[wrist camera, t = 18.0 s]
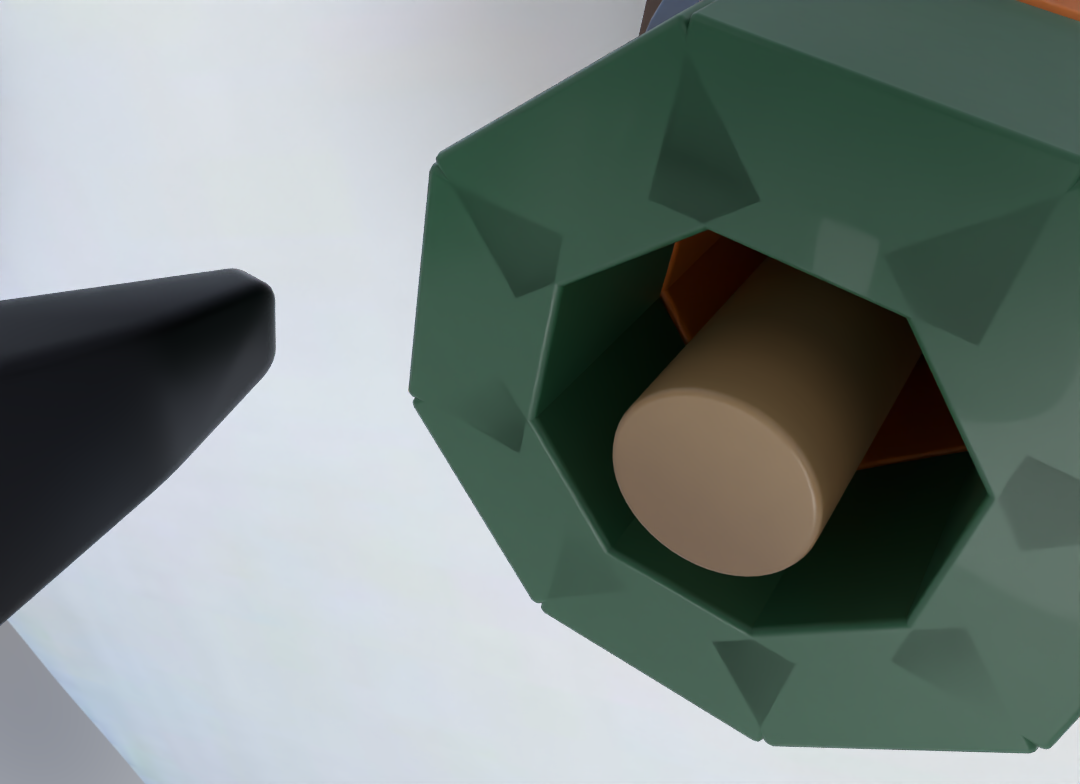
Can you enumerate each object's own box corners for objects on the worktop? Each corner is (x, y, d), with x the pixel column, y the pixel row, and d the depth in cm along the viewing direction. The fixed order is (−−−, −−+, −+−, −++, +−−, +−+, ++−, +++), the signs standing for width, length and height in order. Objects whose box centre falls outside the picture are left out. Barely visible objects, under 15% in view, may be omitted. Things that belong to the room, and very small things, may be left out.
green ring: (625, -131, 10) (449, -79, 8) (1427, 135, 8) (1466, 303, 6) (521, 402, 15) (392, 523, 13) (1008, 665, 13) (947, 863, 11)
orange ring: (743, -171, 12) (626, -137, 10) (1407, 31, 10) (1433, 129, 8) (619, 309, 17) (523, 400, 15) (1054, 521, 15) (1012, 664, 13)
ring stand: (749, -331, 14) (268, -323, 7) (1635, -110, 10) (2118, 233, 4) (602, 284, 20) (282, 566, 14) (1122, 533, 17) (1012, 1045, 11)
